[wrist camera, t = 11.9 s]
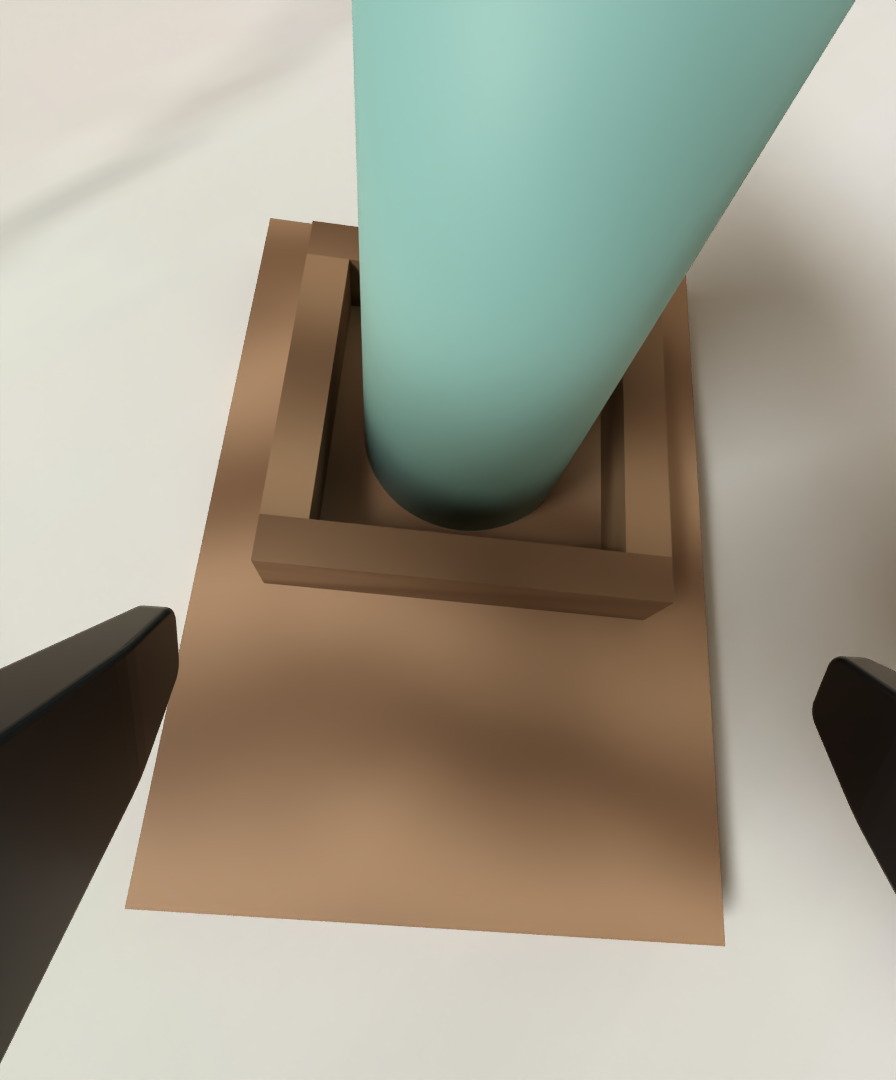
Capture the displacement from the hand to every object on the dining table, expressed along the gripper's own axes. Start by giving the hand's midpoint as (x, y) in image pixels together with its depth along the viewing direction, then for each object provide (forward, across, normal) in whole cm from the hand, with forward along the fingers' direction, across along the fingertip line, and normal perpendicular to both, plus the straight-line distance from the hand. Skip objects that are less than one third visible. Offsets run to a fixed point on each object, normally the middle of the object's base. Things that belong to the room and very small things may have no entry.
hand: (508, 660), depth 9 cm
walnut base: (+11, 0, +3) cm, 11 cm away
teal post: (+12, 0, 0) cm, 12 cm away
